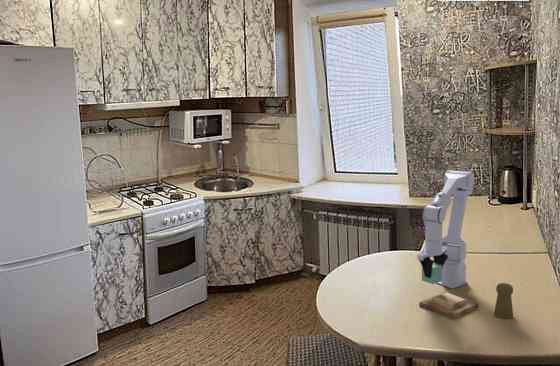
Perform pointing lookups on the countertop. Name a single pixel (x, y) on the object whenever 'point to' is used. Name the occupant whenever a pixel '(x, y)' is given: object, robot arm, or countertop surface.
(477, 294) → the countertop surface
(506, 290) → the salt shaker
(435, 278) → the teal block
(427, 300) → the walnut stand
